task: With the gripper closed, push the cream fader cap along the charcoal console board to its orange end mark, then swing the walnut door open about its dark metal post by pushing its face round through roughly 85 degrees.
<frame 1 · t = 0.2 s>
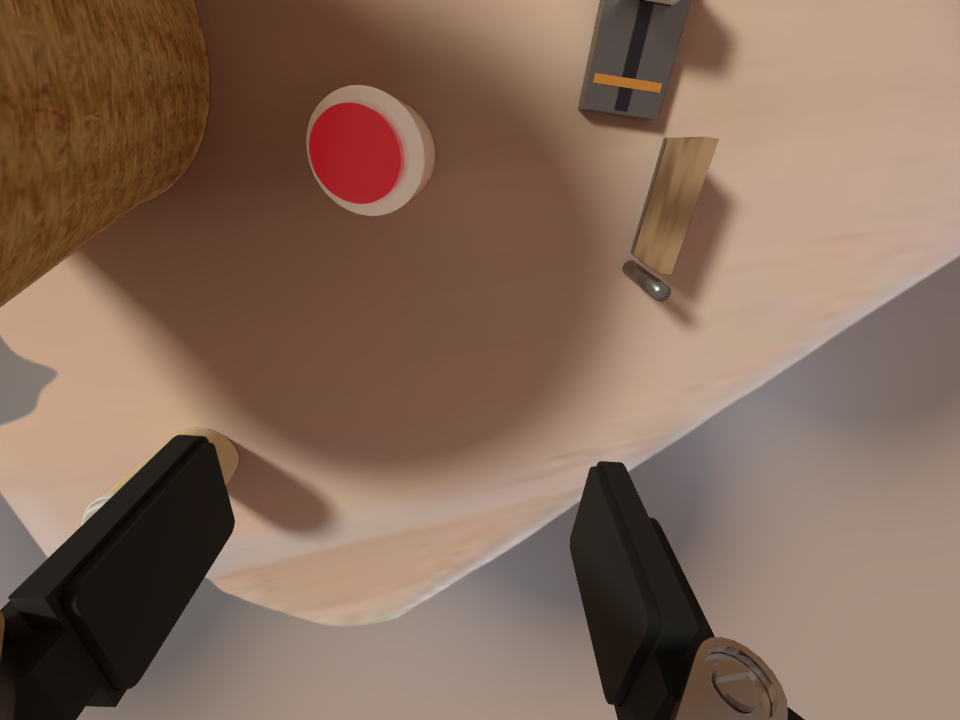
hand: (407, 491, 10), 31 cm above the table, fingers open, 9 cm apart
basket: (24, 26, 30), on the table
pill bottle: (389, 152, 34), on the table
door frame: (630, 267, 39), on the table
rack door: (670, 205, 33), point 4 cm above the table, hinge at 0.0°
console board: (638, 13, 30), on the table
coffee cup: (207, 451, 49), on the table
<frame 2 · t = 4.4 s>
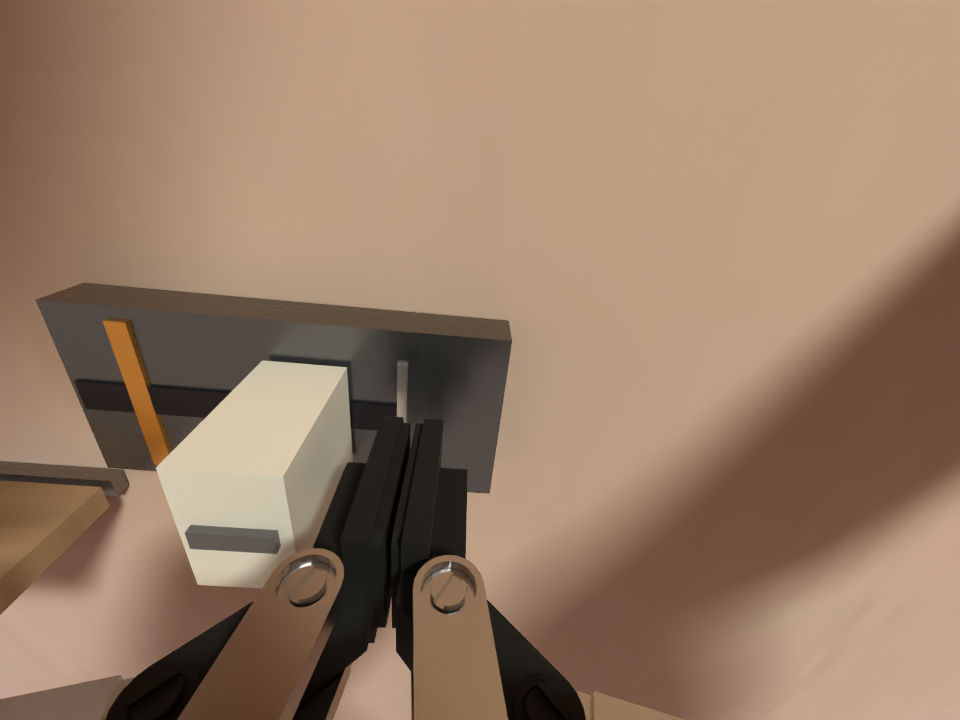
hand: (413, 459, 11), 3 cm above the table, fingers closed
console board: (310, 384, 14), on the table
fader cap: (278, 466, 11), point 4 cm above the table, slide at -0.6 cm, touching gripper
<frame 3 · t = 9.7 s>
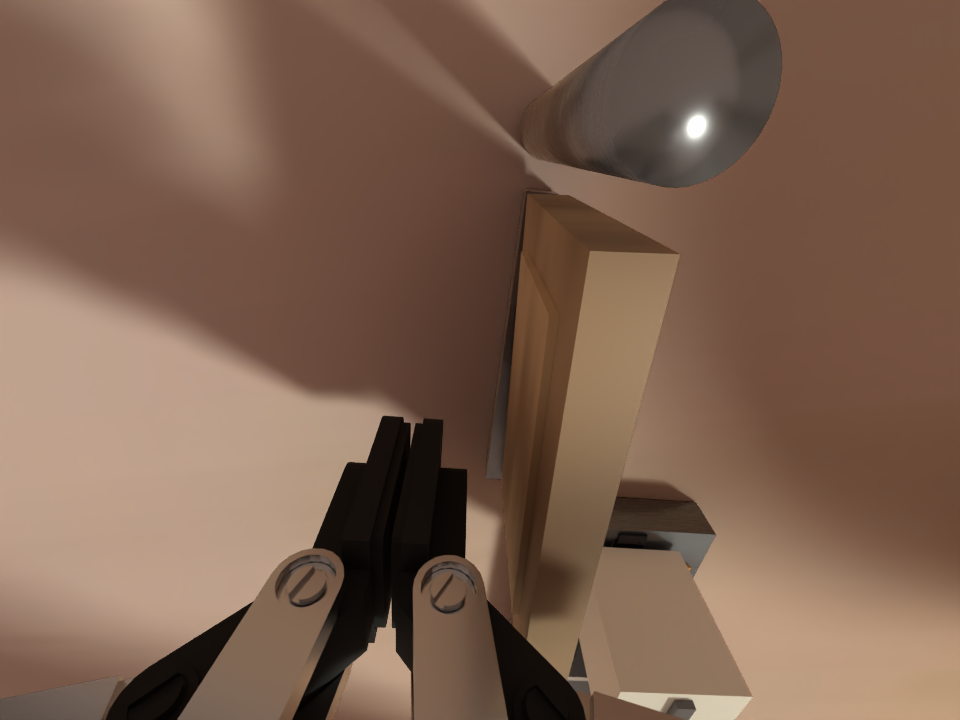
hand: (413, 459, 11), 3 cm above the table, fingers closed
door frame: (548, 128, 10), on the table
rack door: (541, 431, 9), point 4 cm above the table, hinge at 3.5°, touching gripper
console board: (584, 600, 19), on the table
fader cap: (645, 635, 13), point 4 cm above the table, slide at 4.6 cm
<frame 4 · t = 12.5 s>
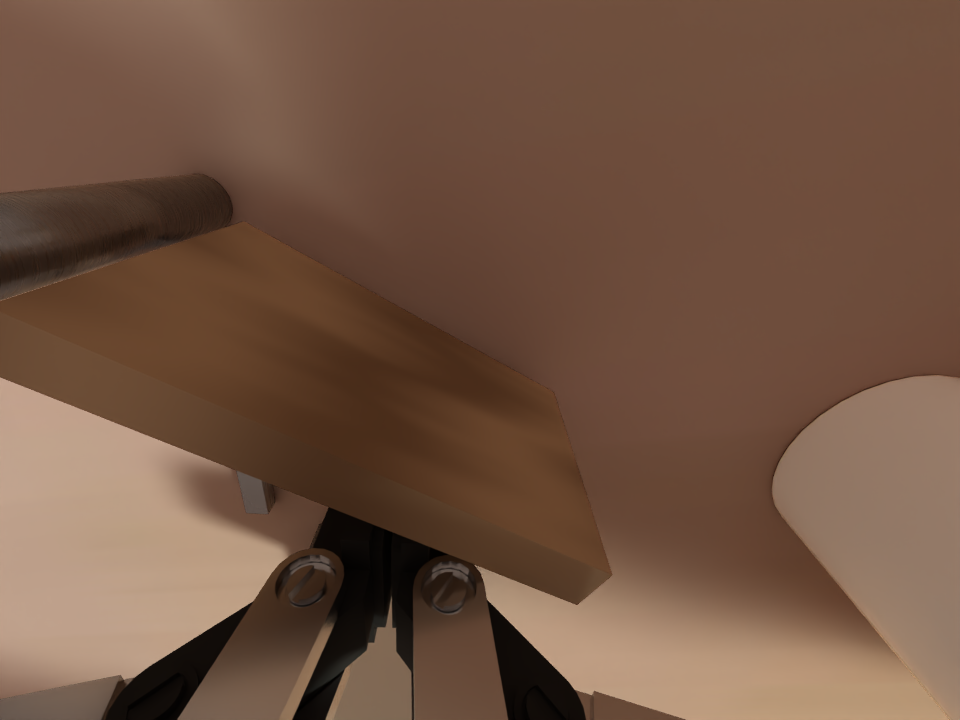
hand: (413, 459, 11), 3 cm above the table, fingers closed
pill bottle: (873, 459, 15), on the table
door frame: (204, 202, 11), on the table
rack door: (385, 388, 9), point 4 cm above the table, hinge at 63.8°
fader cap: (373, 664, 14), point 4 cm above the table, slide at 4.6 cm
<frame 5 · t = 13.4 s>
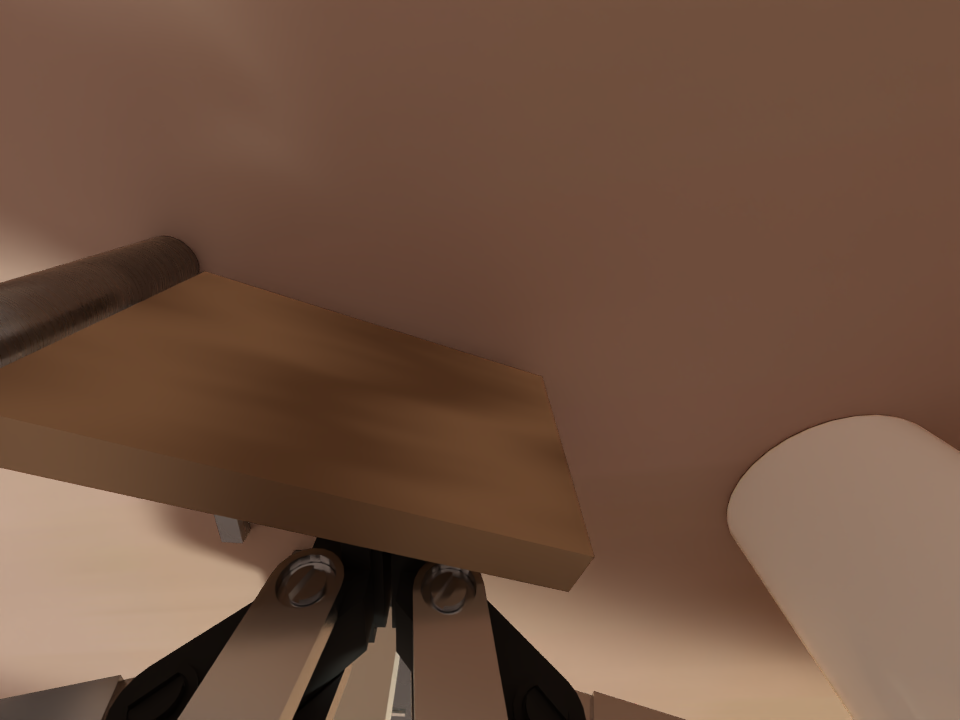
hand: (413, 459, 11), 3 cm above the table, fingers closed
pill bottle: (823, 490, 16), on the table
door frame: (172, 261, 11), on the table
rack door: (352, 404, 9), point 4 cm above the table, hinge at 76.0°, touching gripper
console board: (370, 640, 20), on the table
fader cap: (341, 689, 15), point 4 cm above the table, slide at 4.6 cm
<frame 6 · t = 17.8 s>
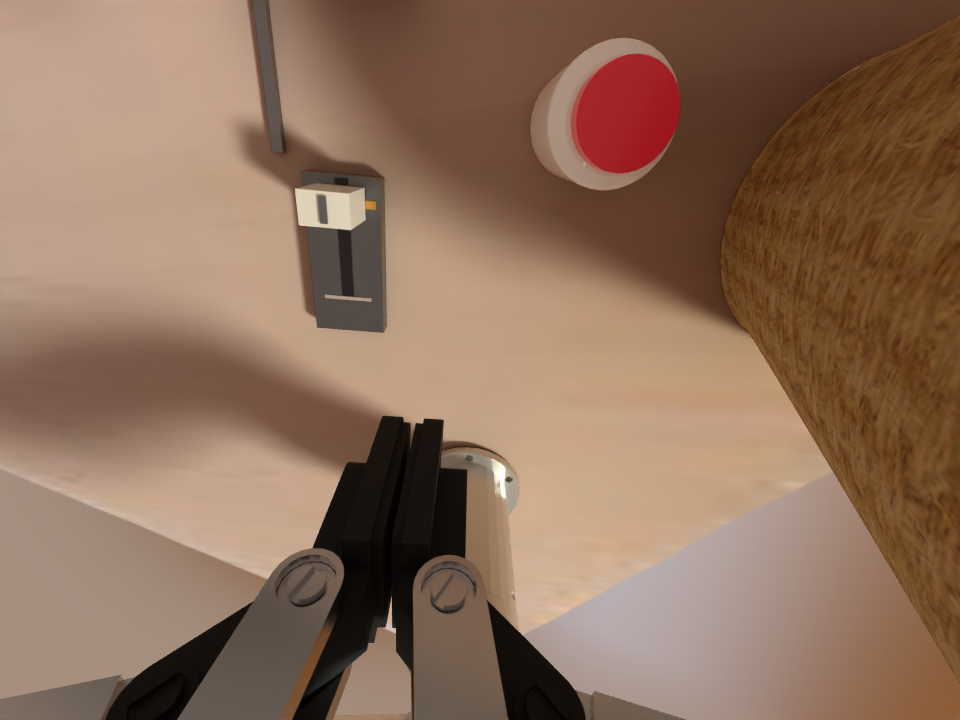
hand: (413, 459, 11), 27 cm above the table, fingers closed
basket: (876, 225, 35), on the table
pill bottle: (579, 125, 32), on the table
console board: (350, 255, 36), on the table
fader cap: (332, 205, 30), point 4 cm above the table, slide at 4.6 cm
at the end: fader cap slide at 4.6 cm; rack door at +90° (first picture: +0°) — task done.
